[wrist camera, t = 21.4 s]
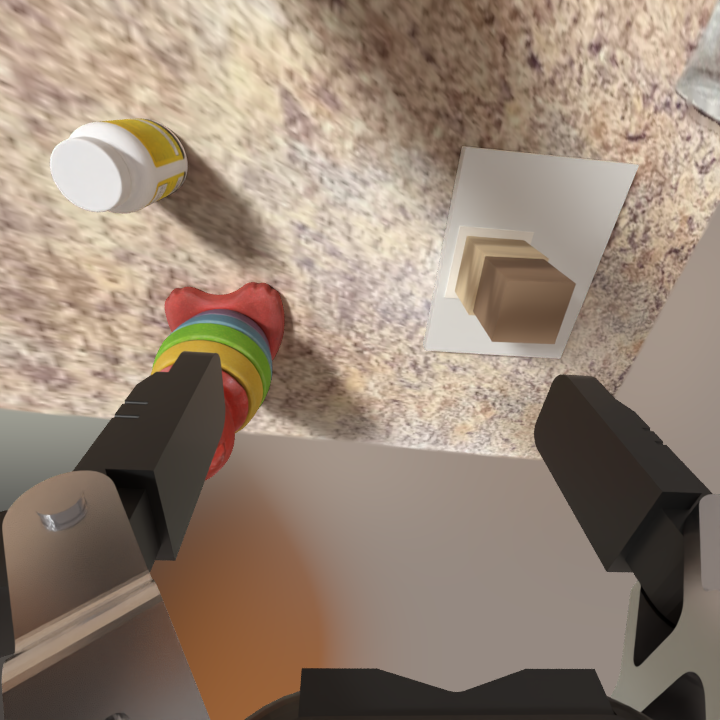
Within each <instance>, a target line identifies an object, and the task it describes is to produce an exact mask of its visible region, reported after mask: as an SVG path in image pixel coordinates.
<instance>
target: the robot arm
mask: <svg viewBox="0 0 720 720" xmlns="http://www.w3.org/2000/svg"><path fill="white" fill-rule="evenodd" d="M224 423H225V398H224V388H223V378H222V368H221V360H220V356H219V354H218V353H208V352H191V351H183V352H181V354H180V355H179V357H178V358H177V360H176V361H175V363H174V364H173V366H172V367H171V369H170V370H169V372H155V373H154V374H152V375H151V376H149V377H148V378H146V379H145V380H143V381H142V382H140V383H138V384H137V385H136V386H135V388H134V389H133V390H132V392H131V393H130V394H129V396H128V397H127V399H126V400H125V404H122V405H121V407H120V408H119V409H118V411H117V412H116V413H115V417H114V418H112V419H111V420H110V422H109V423H108V424H107V426H106V427H105V428H104V430H103V431H102V432H101V434H100V435H99V436H98V438H97V439H96V440H95V442H94V443H93V444H92V446H91V447H90V448H89V450H88V451H87V453H86V454H85V455H84V457H83V458H82V459H81V461H80V462H79V463H78V465H77V466H76V467H75V469H74V470H73V471H72V472H68V473H64V474H60V475H57V476H54V477H51V478H49V479H47V480H44V481H43V482H41V483H39V484H37V485H35V486H34V487H32V488H31V489H29V490H28V491H26V492H25V493H24V494H23V495H21V496H20V497H19V498H18V499H17V500H16V501H15V502H14V503H13V504H12V506H11V507H10V508H9V509H8V510H6V511H2V512H0V657H3V656H6V655H10V654H13V653H15V655H13V656H12V657H10V658H8V659H7V660H6V661H5V663H4V665H3V670H2V696H3V708H4V720H210V718H209V716H208V713H207V710H206V708H205V706H204V703H203V700H202V698H201V695H200V693H199V690H198V688H197V686H196V683H195V680H194V678H193V675H192V673H191V670H190V668H189V665H188V663H187V660H186V658H185V655H184V653H183V651H182V648H181V645H180V642H179V640H178V637H177V635H176V632H175V630H174V627H173V625H172V623H171V620H170V617H169V615H168V612H167V610H166V607H165V605H164V602H163V600H162V597H161V595H160V592H159V590H158V588H157V585H156V583H155V581H154V580H152V578H151V576H150V571H151V568H152V566H153V564H154V561H155V560H173V561H174V560H176V557H177V554H178V552H179V549H180V546H181V544H182V541H183V538H184V535H185V533H186V530H187V527H188V525H189V522H190V519H191V517H192V514H193V511H194V508H195V506H196V503H197V500H198V498H199V495H200V492H201V490H202V487H203V484H204V481H205V479H206V476H207V473H208V471H209V468H210V465H211V463H212V460H213V457H214V454H215V452H216V449H217V446H218V444H219V441H220V438H221V436H222V433H223V429H224ZM534 438H535V444H536V447H537V449H538V451H539V453H540V454H541V456H542V458H543V460H544V462H545V463H546V465H547V467H548V468H549V470H550V472H551V474H552V475H553V477H554V479H555V481H556V483H557V485H558V486H559V488H560V490H561V491H562V493H563V495H564V497H565V499H566V501H567V502H568V504H569V506H570V507H571V509H572V511H573V513H574V515H575V516H576V518H577V520H578V522H579V523H580V525H581V527H582V529H583V530H584V532H585V534H586V536H587V538H588V539H589V541H590V543H591V545H592V547H593V548H594V550H595V552H596V554H597V555H598V557H599V559H600V561H601V562H602V564H603V566H604V568H605V570H606V571H607V572H633V573H634V575H635V576H636V578H637V579H638V581H637V582H636V583H635V585H634V586H633V587H632V589H631V593H630V600H629V608H628V616H627V624H626V632H625V640H624V648H623V655H622V664H621V671H620V676H619V679H618V682H617V685H616V687H615V690H614V691H613V693H612V695H611V697H608V696H606V694H605V691H604V689H603V687H602V685H601V682H600V680H599V678H598V676H597V673H596V671H595V669H524V670H521V671H519V672H516V673H513V674H510V675H508V676H505V677H502V678H499V679H497V680H494V681H491V682H488V683H485V684H482V685H480V686H477V687H474V688H471V689H468V690H466V691H462V692H451V691H447V690H444V689H441V688H437V687H434V686H431V685H428V684H425V683H421V682H418V681H415V680H412V679H409V678H405V677H402V676H399V675H396V674H393V673H389V672H386V671H383V670H380V669H329V668H326V669H322V668H320V669H319V668H302V674H301V686H300V691H299V692H296V693H293V694H290V695H287V696H284V697H282V698H280V699H278V700H276V701H274V702H272V703H270V704H268V705H266V706H264V707H262V708H261V709H259V710H258V711H256V712H255V713H253V714H252V715H250V716H249V717H247V718H246V719H245V720H720V494H712V493H711V492H710V491H709V489H708V488H707V487H706V486H705V485H704V484H703V483H702V482H701V481H700V480H699V479H698V478H697V477H696V476H695V475H694V474H693V473H692V472H691V471H690V469H689V468H687V466H686V465H685V464H684V463H683V462H682V461H681V460H680V459H679V458H678V457H677V456H676V455H675V454H674V453H673V452H672V451H671V449H670V448H669V447H668V446H667V445H663V441H662V440H661V439H660V438H659V437H658V436H657V435H656V434H655V433H654V432H653V431H650V427H649V426H648V425H647V424H646V423H645V422H644V421H643V420H642V419H641V418H640V417H639V416H638V415H637V414H636V413H635V412H634V411H632V410H631V409H630V408H628V407H627V406H625V405H623V404H622V403H621V402H619V401H618V400H616V399H615V398H614V397H613V396H612V395H611V394H610V393H609V392H608V391H607V390H606V388H605V387H604V386H603V385H602V384H601V383H600V382H599V381H598V380H597V379H596V378H594V377H592V376H578V375H558V376H557V377H556V378H555V379H554V381H553V383H552V385H551V387H550V390H549V392H548V395H547V397H546V399H545V402H544V404H543V407H542V409H541V412H540V414H539V417H538V419H537V422H536V424H535V430H534Z"/></svg>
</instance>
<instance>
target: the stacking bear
mask: <svg viewBox="0 0 720 720" xmlns="http://www.w3.org/2000/svg"><path fill="white" fill-rule="evenodd" d="M165 313H166V317H167V321H168V324H169V326H170V329H171V331H172V333H171V334H170V335H169V336H168V337H167V338H166V339H165V341H164V342H163V343H162V345H161V347H160V349H159V351H158V353H157V355H156V358H155V360H154V364H153V369H152V373H151V375H152V374H154V373H155V372H169V370H170V369H171V367H172V366H173V364H174V363H175V361H176V360H177V358H178V357H179V355H180V354H181V352H183V351H191V352H208V353H218V354H219V356H220V360H221V368H222V378H223V388H224V398H225V423H224V429H223V433H222V436H221V438H220V441H219V444H218V446H217V449H216V452H215V454H214V457H213V460H212V463H211V465H210V468H209V471H208V473H207V476H206V479H205V480H207V479H209V478H210V477H212V476H213V475H215V474H216V473H217V472H218V471H219V470H220V469H221V468H222V467H223V466H224V465H225V463H226V462H227V460H228V459H229V457H230V455H231V452H232V449H233V446H234V440H235V433H237V432H238V431H240V430H241V429H243V428H244V427H245V426H246V425H247V424H248V423H249V422H250V420H251V419H252V418H253V416H254V415H255V413H256V412H257V410H258V409H259V407H260V406H261V404H262V403H263V401H264V399H265V397H266V395H267V393H268V390H269V387H270V383H271V379H272V360H273V359H274V357H275V356H276V354H277V352H278V349H279V347H280V345H281V341H282V338H283V333H284V310H283V304H282V301H281V298H280V295H279V293H278V292H277V291H276V290H274V289H272V288H271V287H270V286H269V285H268V284H266V283H255V282H251V283H247V284H245V285H244V286H243V287H241V288H240V289H238V290H237V291H235V292H233V293H230V294H225V295H213V294H208V293H205V292H203V291H201V290H198V289H196V288H193V287H184V288H182V289H181V288H176V289H174V290H173V291H172V292H171V294H170V296H169V297H168V298H167V299H166V301H165Z"/></svg>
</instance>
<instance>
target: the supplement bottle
mask: <svg viewBox="0 0 720 720" xmlns="http://www.w3.org/2000/svg"><path fill="white" fill-rule="evenodd" d="M50 170H51V174H52V177H53V180H54V182H55V184H56V186H57V187H58V189H59V190H60V192H61V193H62V194H63V195H64V196H65V197H66V198H67V199H68V200H69V201H70V202H72V203H73V204H75V205H76V206H78V207H80V208H82V209H85V210H88V211H92V212H105V211H109V212H113V213H132V212H135V211H138V210H140V209H142V208H144V207H146V206H148V205H150V204H152V203H154V202H156V201H158V200H160V199H162V198H164V197H166V196H168V195H170V194H172V193H173V192H175V191H176V190H178V189H179V188H180V187H181V185H182V184H183V183H184V181H185V179H186V176H187V171H188V162H187V156H186V153H185V150H184V148H183V146H182V144H181V142H180V141H179V139H178V138H177V137H176V135H175V134H174V133H173V132H172V131H171V130H169V129H168V128H167V127H165V126H164V125H162V124H160V123H158V122H156V121H153V120H150V119H124V120H113V121H100V122H92V123H88V124H85V125H83V126H80V127H79V128H77V129H76V130H75V131H74V132H73V133H72V134H71V135H70V137H69V139H67V140H64V141H62V142H60V143H59V144H58V145H57V146H56V147H55V148H54V150H53V152H52V154H51V158H50Z"/></svg>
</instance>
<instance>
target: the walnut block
mask: <svg viewBox="0 0 720 720" xmlns="http://www.w3.org/2000/svg"><path fill="white" fill-rule="evenodd" d="M575 285H576V283H575V282H573V281H572V280H571V279H569V278H568V277H567V276H565V275H564V274H563V273H562V272H560V271H559V270H558V269H556V268H555V267H554V266H552V265H551V264H550V263H548V262H547V261H546V260H545V259H532V258H512V257H493V256H485V260H484V264H483V269H482V273H481V277H480V282H479V286H478V291H477V295H476V300H475V304H474V309H473V312H474V314H475V316H476V317H477V319H478V320H479V322H480V323H481V325H482V327H483V328H484V330H485V331H486V333H487V335H488V336H489V338H490V339H491V341H492V342H509V343H535V344H555V342H556V339H557V336H558V333H559V330H560V328H561V325H562V322H563V319H564V316H565V313H566V311H567V308H568V305H569V302H570V299H571V297H572V294H573V291H574V288H575Z"/></svg>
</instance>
